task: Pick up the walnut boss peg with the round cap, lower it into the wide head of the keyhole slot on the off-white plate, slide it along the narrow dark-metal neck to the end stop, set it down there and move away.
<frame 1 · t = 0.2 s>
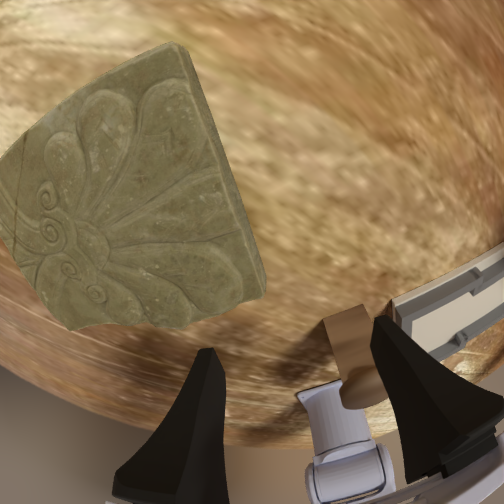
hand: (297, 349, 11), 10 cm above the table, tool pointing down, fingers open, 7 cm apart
keyhole plate: (466, 302, 25), on the table
decorative tile: (111, 218, 19), on the table
walnut boss peg: (346, 324, 25), on the table
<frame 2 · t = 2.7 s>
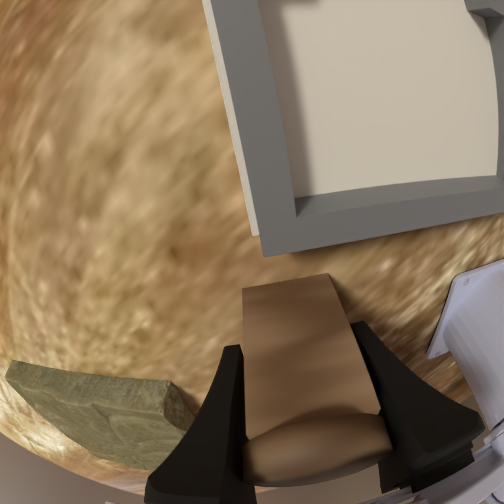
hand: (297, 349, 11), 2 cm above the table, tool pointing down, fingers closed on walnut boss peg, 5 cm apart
decorative tile: (124, 419, 22), on the table
walnut boss peg: (289, 312, 14), on the table, touching gripper
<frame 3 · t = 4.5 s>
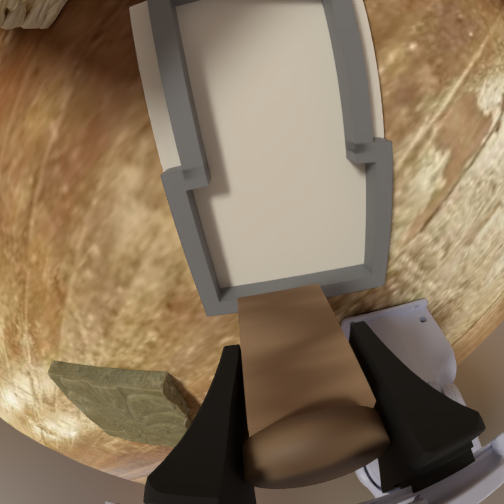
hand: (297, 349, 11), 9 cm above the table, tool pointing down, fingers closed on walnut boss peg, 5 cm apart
keyhole plate: (274, 138, 16), on the table
decorative tile: (134, 402, 33), on the table
walnut boss peg: (281, 321, 14), point 7 cm above the table, tilted 5°, touching gripper
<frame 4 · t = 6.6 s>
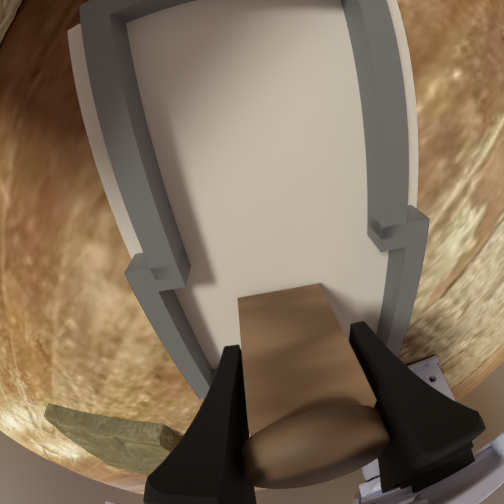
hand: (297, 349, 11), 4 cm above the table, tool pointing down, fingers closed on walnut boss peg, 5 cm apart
keyhole plate: (273, 211, 12), on the table
decorative tile: (132, 440, 30), on the table
walnut boss peg: (282, 321, 14), point 1 cm above the table, tilted 6°, touching gripper
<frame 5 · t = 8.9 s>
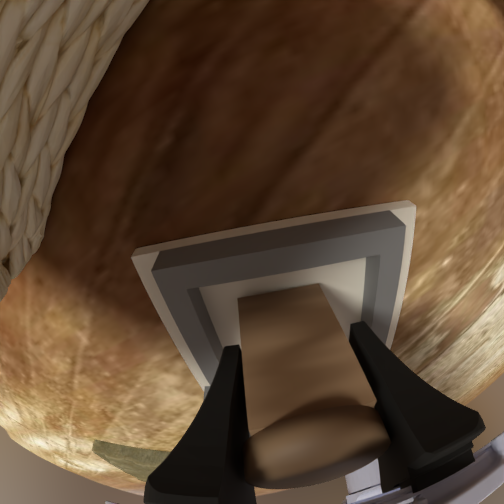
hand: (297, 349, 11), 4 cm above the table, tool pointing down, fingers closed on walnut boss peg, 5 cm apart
keyhole plate: (295, 363, 18), on the table
decorative tile: (165, 462, 36), on the table
walnut boss peg: (282, 321, 14), point 1 cm above the table, tilted 6°, touching gripper
storage basket: (22, 36, 6), on the table
when the fingers open (3 cm above the table, at t = 11.1 s): walnut boss peg stays where it is, resting on keyhole plate.
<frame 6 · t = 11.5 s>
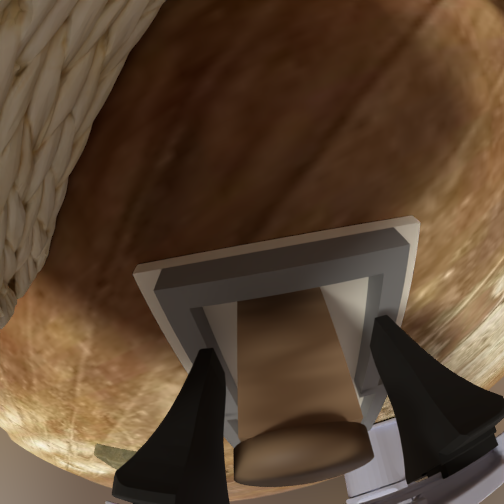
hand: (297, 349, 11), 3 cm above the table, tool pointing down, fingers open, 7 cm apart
keyhole plate: (296, 373, 18), on the table
decorative tile: (167, 465, 36), on the table
walnut boss peg: (281, 321, 14), point 1 cm above the table, touching keyhole plate
storage basket: (22, 46, 7), on the table
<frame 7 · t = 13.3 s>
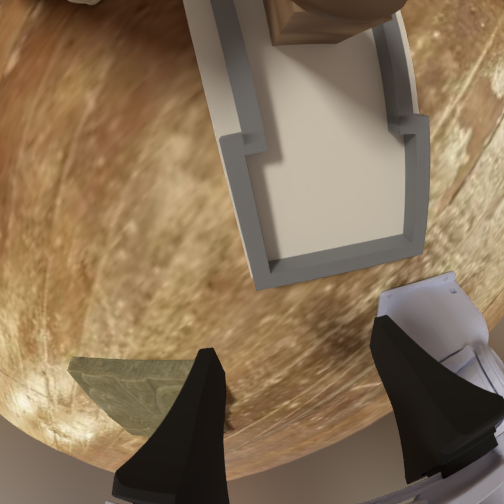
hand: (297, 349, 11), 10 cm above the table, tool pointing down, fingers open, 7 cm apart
keyhole plate: (323, 111, 16), on the table
decorative tile: (159, 396, 33), on the table
walnut boss peg: (299, 16, 11), point 1 cm above the table, touching keyhole plate
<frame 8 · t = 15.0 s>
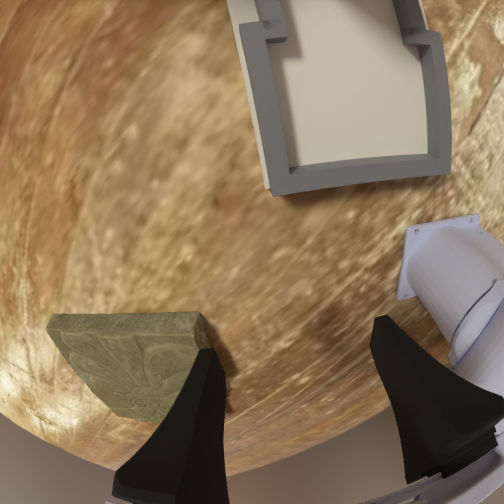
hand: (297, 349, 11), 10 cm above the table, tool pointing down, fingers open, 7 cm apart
keyhole plate: (340, 21, 12), on the table
decorative tile: (149, 368, 30), on the table
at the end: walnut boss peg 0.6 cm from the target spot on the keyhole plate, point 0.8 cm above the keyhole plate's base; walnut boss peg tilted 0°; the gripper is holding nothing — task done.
